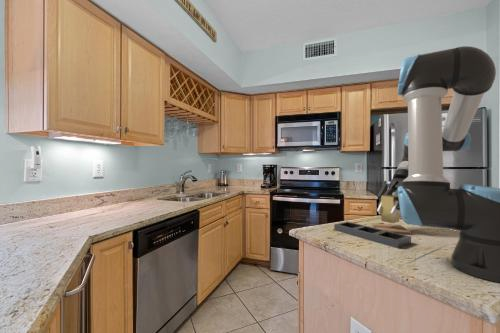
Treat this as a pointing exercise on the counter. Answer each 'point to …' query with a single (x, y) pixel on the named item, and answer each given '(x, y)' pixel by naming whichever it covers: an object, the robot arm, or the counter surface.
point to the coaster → (392, 228)
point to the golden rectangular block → (388, 208)
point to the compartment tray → (374, 234)
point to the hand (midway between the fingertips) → (385, 213)
